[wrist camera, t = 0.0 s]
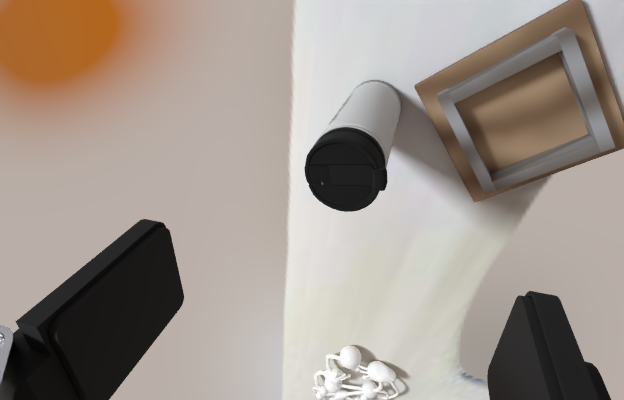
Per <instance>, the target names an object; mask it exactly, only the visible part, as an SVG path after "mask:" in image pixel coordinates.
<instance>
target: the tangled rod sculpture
mask: <svg viewBox="0 0 624 400" xmlns="http://www.w3.org/2000/svg"><path fill="white" fill-rule="evenodd" d="M330 358H331V359H336V360H339V361H341V363H342V365H343V366H344V367H346V368H348V369H354V368H356V367H358V366H359V367H360V368H361V369H364V370H367V371H362V370H361V369H360V368H357V369H356V371H357V372H361V373H364V374H368V375H363V379H366V378H368V377H370V378H371V379H372V380H374V381H376V382H379V387H377V385H376V383H374V382H373V381H366V382H365V383H364V384H363V386H362V387H358V386H351V385H345V384H342V380H345V379H346V378H350V377H351V374H348V375H347V376H346V374H345V373H343V372H342V370H340V369H338V368H334V369H331V367H330ZM360 362H361V353H360V351H359V350H358V349H357V348H356V347H355V346H351V345H350V346H346V347H344V348H343V349H342V350H341V352H340V356H337V355H334V354H329V355H327V356H326V367H327V370H325V371H318V372H316V374H315V377H314V379H315V385H316V387H313V388H312V390H313V392H314V393H315V394H316V397H317V399H318V400H322V399H323V398H324V396H335V397H331V398H330V400H369V398H370V399H372V398H374V397H375V396H377V397H378V398H380V399H384V400H388V399H391V398H394V397H396V396H398V395H399V390H398V388H397V387H396V386H395V384H394V383H393V382H394V381H395V380H396V374H395V373H394V371H393V370H392V369H390V368H389V367H388V366H386V365H385V364H383V363H382V362H380V361H372V362H371V363H370V364H369V365H368V367H367V368H365V367H362V366H361V365H360ZM319 375H324V377H325V383H324V384H325V386H320V385H319V382H318V376H319ZM344 377H345V378H344ZM383 382H386V383H388V382H389V383H390V384H391V385H392V386H393V387H394V389H395V390H396V391H397V393H396V394H394V395H392V396H389V395H388V393H387V392H386V391H384V390H382V389H383ZM341 387H342V388H341ZM344 388H348V389H355V390H361V391H354V392H348V391H347V390H345V389H344ZM315 390H318V391H317V392H316V391H315ZM328 391H329V392H328ZM378 392H380V393H384V394H386V397H383V396H380V395H378V394H377V393H378ZM358 394H362V395H361V397H359V396H357V397H356V398H355V399H353V398H351V397H348V396H350V395H358Z"/></svg>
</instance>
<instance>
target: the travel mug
mask: <svg viewBox="0 0 624 400" xmlns="http://www.w3.org/2000/svg"><path fill="white" fill-rule="evenodd" d="M400 112H401V100H400V97H399V94H398V93H397V91H396V90H395V89H394V88H393V87H392V86H391V85H390V84H388V83H386V82H384V81H379V80H371V81H366V82H364V83H362V84H360V85H359V86H358V87H357V88H356V89H355V90H354V91H353V92H352V94H351V95H350V96H349V98H348V99H347V100H346V102H345V103H344V104H343V106H342V107H341V108H340V110H339V111H338V113H337V114H336V115H335V117H334V118H333V119H332V121H331V122H330V123H329V125H328V126H327V127H326V129H325V130H324V132H323V133H322V134H321V136H320V137H319V138H318V140H317V141H316V143H315V145H314V146H313V148H312V149H311V151H310V152H309V154H308V155H307V159H306V164H305V176H306V179H307V182H308V183H309V187H310V189H311V191H312V193H313V195H314V196H315V197H316V198H317V199H318V200H319V201H321V202H322V203H323V204H325V205H327V206H328V207H330V208H333V209H336V210H339V211H357V210H360V209H363V208H365V207H367V206H368V205H370V204H371V203H372V202H373V201H374V200H375V199H376V197H377V195H378V193H379V191H383V190H385V188H386V185H387V170H386V166H387V163H388V159H389V155H390V151H391V147H392V143H393V139H394V136H395V132H396V128H397V124H398V120H399V116H400Z"/></svg>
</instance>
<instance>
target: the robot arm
mask: <svg viewBox="0 0 624 400" xmlns="http://www.w3.org/2000/svg"><path fill="white" fill-rule="evenodd" d="M183 300H184V294H183V289H182V285H181V280H180V276H179V271H178V267H177V262H176V257H175V253H174V248H173V244H172V239H171V235H170V231H169V230H168V229H167V228H166V226H165V225H164V223H161V222H157V221H151V220H147V219H143V220H140V221H139V222H137V224H135V225H134V226H133V227H131V228H130V229H129V230H128V231H126V232H125V233H124V234H123V235H122V236H120V237H119V238H118V239H117V240H116V241H114V242H113V243H112V244H110V245H109V246H108V247H107V248H106V249H104V250H103V251H102V252H101V253H99V254H98V255H97V256H96V257H95V258H94V259H92V260H91V261H90V262H88V263H87V264H86V265H85V266H83V267H82V268H81V269H80V270H79V271H77V272H76V273H75V274H74V275H72V276H71V277H70V278H69V279H67V280H66V281H65V282H64V283H63V284H61V285H60V286H59V287H58V288H56V289H55V290H54V291H53V292H52V293H50V294H49V295H48V296H47V297H45V298H44V299H43V300H42V301H40V302H39V303H38V304H37V305H36V306H34V307H33V308H32V309H31V310H29V311H28V312H27V313H26V314H24V315H23V316H22V317H21V318H20V319H18V320H17V321H16V323H17V325H18V327H19V329H18V330H17V331H16V332H14V333H12V331H11V330H10V328H8V327H5V326H2V325H0V400H109V399H110V398H111V396H112V395H113V394H114V393H115V391H116V390H117V388H118V387H119V386H120V385H121V384H122V382H123V381H124V380H125V378H126V377H127V376H128V375H129V373H130V372H131V371H132V369H133V368H134V367H135V365H136V364H137V363H138V362H139V360H140V359H141V358H142V356H143V355H144V354H145V353H146V351H147V350H148V349H149V347H150V346H151V345H152V344H153V342H154V341H155V340H156V338H157V337H158V336H159V335H160V333H161V332H162V331H163V329H164V328H165V327H166V326H167V324H168V323H169V322H170V320H171V319H172V318H173V317H174V315H175V314H176V313H177V311H178V310H179V309H180V307H181V306H182V303H183ZM488 389H489V396H490V400H611V398H610V396H609V394H608V391H607V389H606V387H605V384H604V382H603V379H602V377H601V375H600V373H599V371H598V369H597V368H596V367H595V366H594V365H593V364H592V363H588V362H584V359H583V357H582V354H581V352H580V349H579V347H578V344H577V341H576V339H575V336H574V334H573V331H572V329H571V326H570V324H569V321H568V319H567V316H566V314H565V311H564V309H563V306H562V304H561V301H560V299H559V298H558V297H557V296H554V295H549V294H543V293H537V292H533V291H529V292H527V294H526V295H525V296H518V297H517V298H516V301H515V303H514V306H513V308H512V311H511V313H510V316H509V318H508V321H507V323H506V325H505V328H504V330H503V333H502V336H501V338H500V341H499V343H498V345H497V348H496V350H495V353H494V356H493V358H492V361H491V363H490V365H489V369H488Z"/></svg>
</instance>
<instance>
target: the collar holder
mask: <svg viewBox="0 0 624 400" xmlns="http://www.w3.org/2000/svg"><path fill="white" fill-rule="evenodd" d="M415 89H416V91H417V93H418V95H419V97H420V99H421V101H422V103H423V105H424V106H425V108H426V110H427V112H428V114H429V116H430V118H431V120H432V122H433V124H434V126H435V128H436V130H437V132H438V133H439V135H440V137H441V139H442V141H443V143H444V145H445V147H446V149H447V151H448V153H449V155H450V157H451V159H452V160H453V162H454V164H455V166H456V168H457V170H458V172H459V174H460V176H461V178H462V180H463V182H464V184H465V186H466V188H467V189H468V191H469V193H470V195H471V197H472V199H473V201H474V202H477V201H479V200H482V199H485V198H488V197H491V196H493V195H496V194H499V193H502V192H504V191H507V190H510V189H513V188H515V187H518V186H521V185H524V184H526V183H529V182H532V181H535V180H538V179H540V178H543V177H546V176H549V175H551V174H554V173H557V172H559V171H562V170H565V169H568V168H571V167H574V166H576V165H579V164H582V163H585V162H587V161H590V160H593V159H596V158H598V157H601V156H604V155H607V154H610V153H612V152H615V151H618V150H621V149H623V148H624V122H623V119H622V116H621V113H620V110H619V107H618V104H617V101H616V98H615V96H614V93H613V90H612V87H611V84H610V81H609V78H608V75H607V72H606V69H605V67H604V64H603V61H602V58H601V55H600V52H599V49H598V46H597V43H596V40H595V38H594V35H593V32H592V29H591V26H590V23H589V20H588V17H587V14H586V11H585V9H584V6H583V3H582V0H568V1H567V2H565V3H563V4H561V5H559V6H557V7H556V8H554V9H552V10H550V11H548V12H547V13H545V14H543V15H541V16H539V17H537V18H536V19H534V20H532V21H530V22H528V23H527V24H525V25H523V26H521V27H519V28H517V29H516V30H514V31H512V32H510V33H508V34H507V35H505V36H503V37H501V38H499V39H498V40H496V41H494V42H492V43H490V44H488V45H487V46H485V47H483V48H481V49H479V50H478V51H476V52H474V53H472V54H470V55H468V56H467V57H465V58H463V59H461V60H459V61H458V62H456V63H454V64H452V65H450V66H449V67H447V68H445V69H443V70H441V71H439V72H438V73H436V74H434V75H432V76H430V77H429V78H427V79H425V80H423V81H421V82H419V83H418V84H416V85H415Z"/></svg>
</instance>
